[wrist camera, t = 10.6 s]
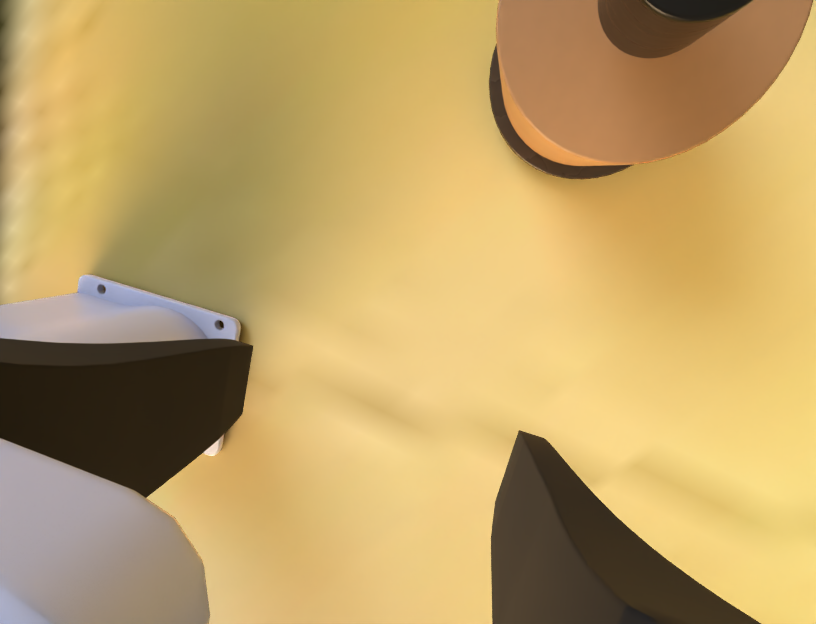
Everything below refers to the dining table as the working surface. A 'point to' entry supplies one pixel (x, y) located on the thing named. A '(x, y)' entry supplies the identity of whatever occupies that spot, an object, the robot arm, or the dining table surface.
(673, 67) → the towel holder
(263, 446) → the dining table surface
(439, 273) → the dining table surface
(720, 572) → the dining table surface
